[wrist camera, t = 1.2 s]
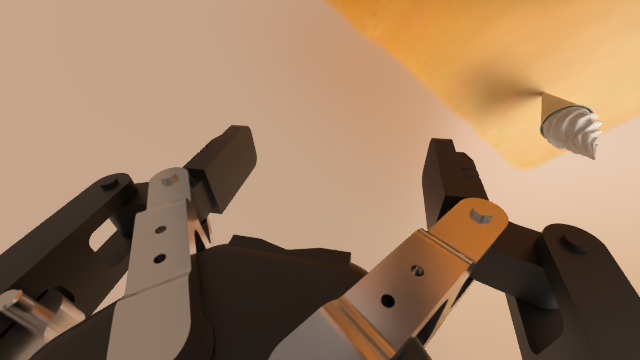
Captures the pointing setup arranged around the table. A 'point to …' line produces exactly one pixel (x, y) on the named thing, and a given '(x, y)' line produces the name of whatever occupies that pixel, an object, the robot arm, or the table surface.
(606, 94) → the table surface
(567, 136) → the ice cream cone
